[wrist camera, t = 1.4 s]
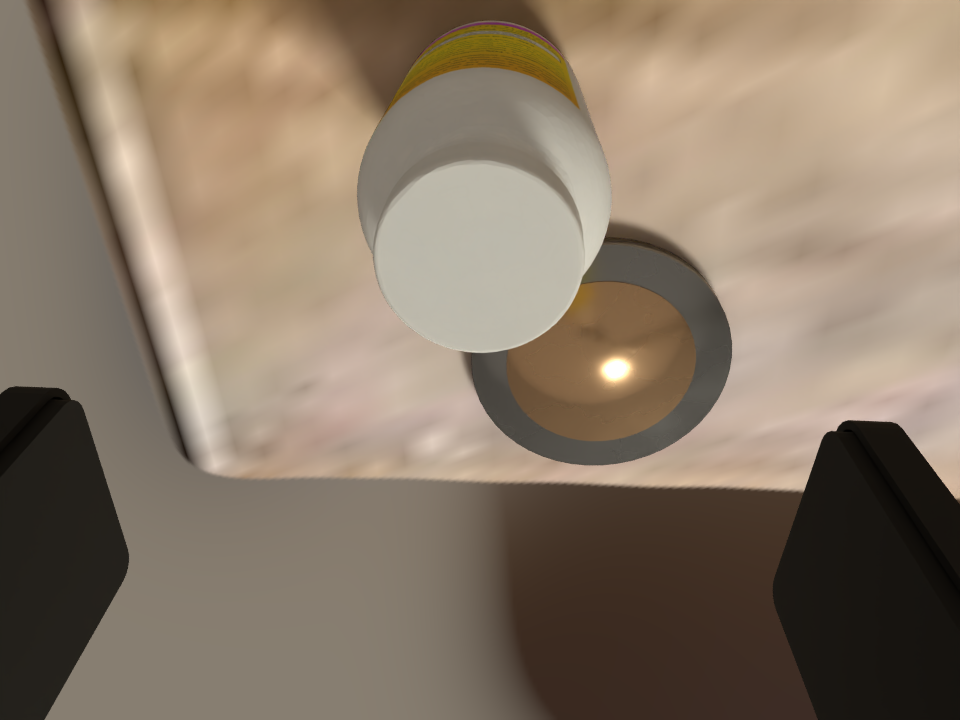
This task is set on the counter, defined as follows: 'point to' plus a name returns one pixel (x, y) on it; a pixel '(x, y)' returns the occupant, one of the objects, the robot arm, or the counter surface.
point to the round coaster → (614, 362)
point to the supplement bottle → (484, 189)
